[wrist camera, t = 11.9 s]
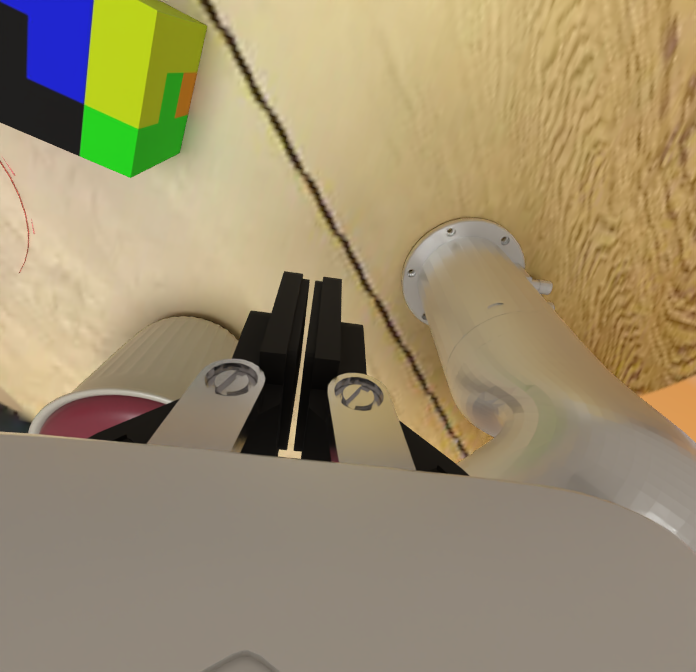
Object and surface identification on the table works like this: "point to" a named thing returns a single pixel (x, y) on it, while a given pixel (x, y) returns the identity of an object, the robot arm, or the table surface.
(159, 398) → the canister
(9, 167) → the figurine
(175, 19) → the puzzle toy
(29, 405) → the table surface
